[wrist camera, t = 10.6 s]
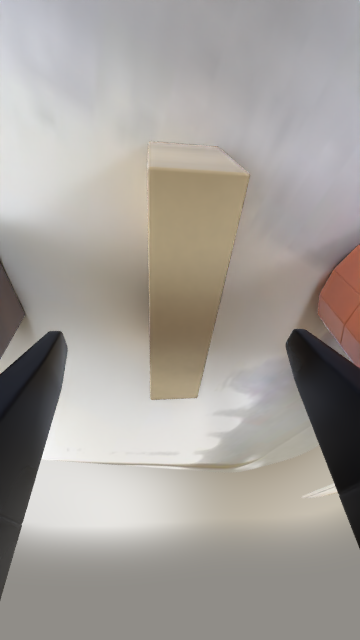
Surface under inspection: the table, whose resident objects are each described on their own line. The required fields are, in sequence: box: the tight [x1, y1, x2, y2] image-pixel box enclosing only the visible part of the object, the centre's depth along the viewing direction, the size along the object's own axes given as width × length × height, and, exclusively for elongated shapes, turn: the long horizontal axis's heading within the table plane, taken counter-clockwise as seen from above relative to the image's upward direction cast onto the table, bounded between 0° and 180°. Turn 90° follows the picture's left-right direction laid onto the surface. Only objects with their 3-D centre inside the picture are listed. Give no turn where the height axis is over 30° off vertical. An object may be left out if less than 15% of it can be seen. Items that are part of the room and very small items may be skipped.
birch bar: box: [147, 141, 250, 400], centre depth 11 cm, size 11×3×4 cm, turn 176°
